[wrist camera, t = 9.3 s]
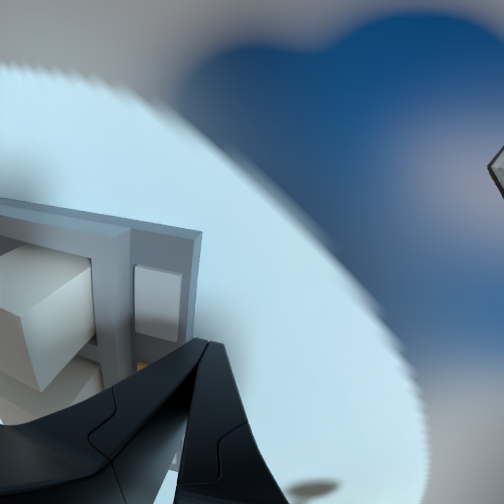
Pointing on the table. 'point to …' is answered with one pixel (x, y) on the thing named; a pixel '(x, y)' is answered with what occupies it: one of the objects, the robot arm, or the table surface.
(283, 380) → the table surface
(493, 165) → the pale blue flat piece
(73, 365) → the tab
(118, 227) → the switch bank
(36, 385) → the tab
